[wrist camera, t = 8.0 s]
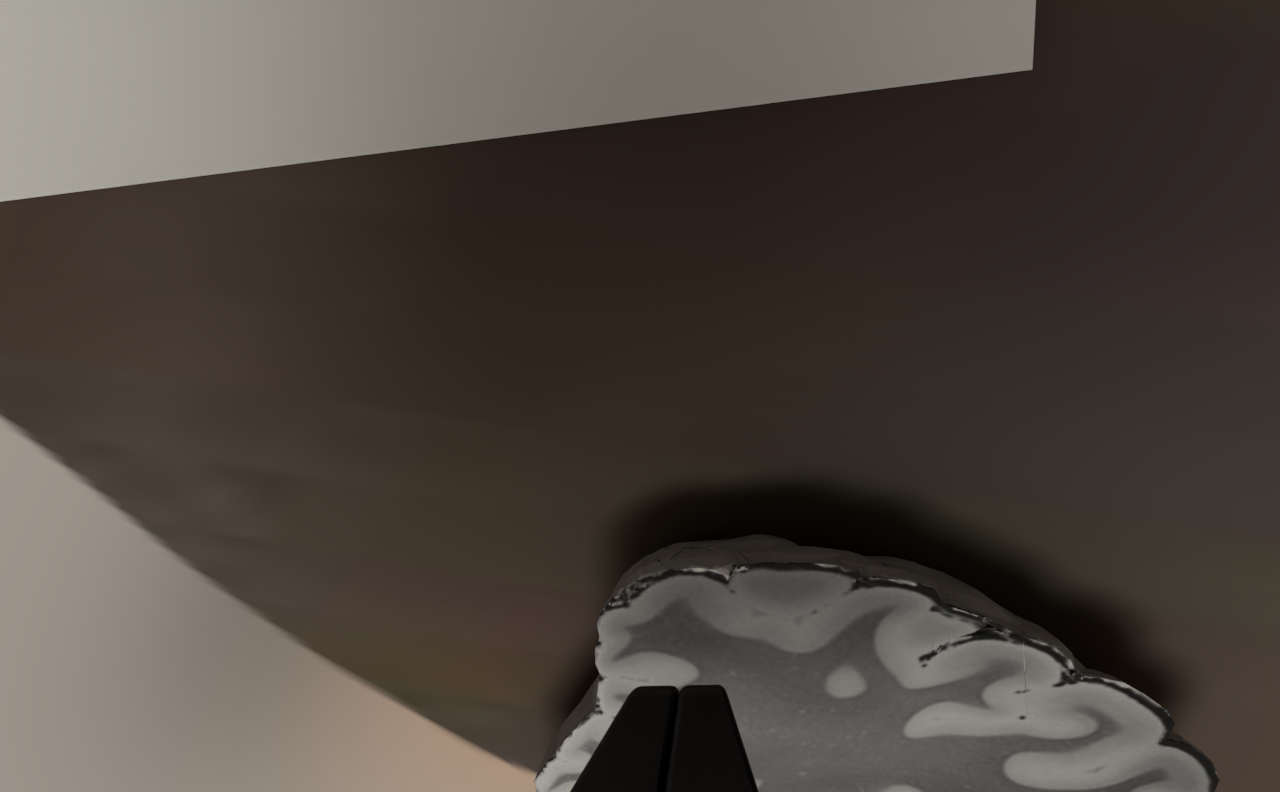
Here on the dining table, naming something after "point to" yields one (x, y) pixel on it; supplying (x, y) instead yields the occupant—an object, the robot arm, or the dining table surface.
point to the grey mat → (433, 73)
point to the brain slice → (869, 679)
